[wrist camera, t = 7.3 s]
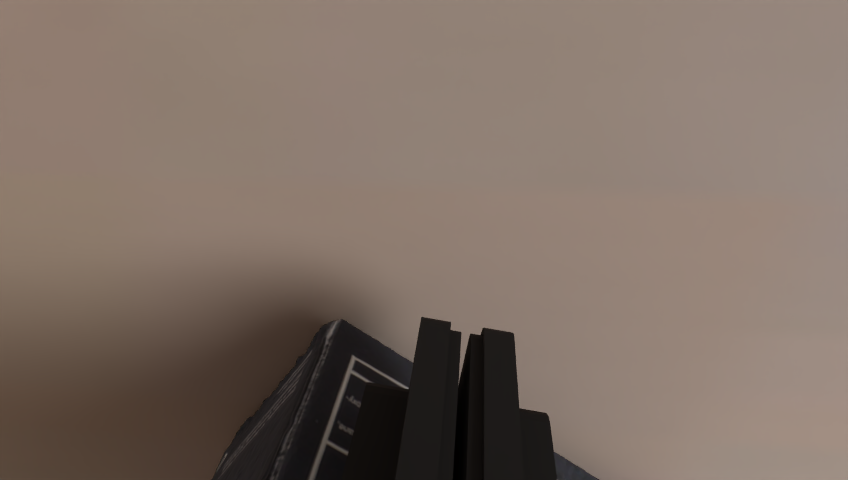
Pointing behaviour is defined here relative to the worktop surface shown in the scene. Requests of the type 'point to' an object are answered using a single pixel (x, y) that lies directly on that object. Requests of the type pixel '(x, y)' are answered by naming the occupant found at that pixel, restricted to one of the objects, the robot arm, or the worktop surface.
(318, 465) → the small box
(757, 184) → the worktop surface
